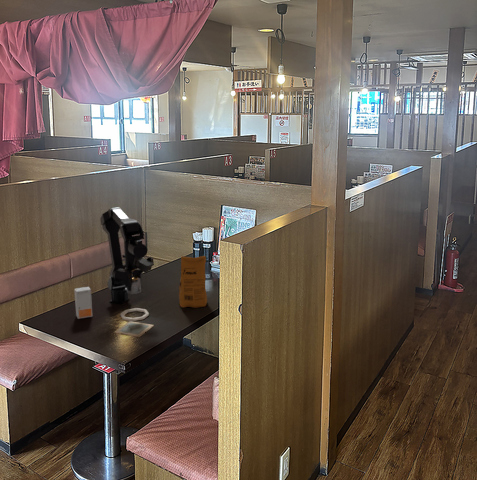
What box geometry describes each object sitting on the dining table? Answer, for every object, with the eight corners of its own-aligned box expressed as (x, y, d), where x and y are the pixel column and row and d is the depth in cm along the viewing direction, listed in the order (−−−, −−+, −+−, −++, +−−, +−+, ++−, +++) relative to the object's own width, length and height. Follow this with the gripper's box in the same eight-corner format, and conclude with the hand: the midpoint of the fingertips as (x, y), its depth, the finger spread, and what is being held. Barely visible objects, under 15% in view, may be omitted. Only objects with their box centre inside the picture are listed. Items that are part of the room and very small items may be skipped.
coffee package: (180, 299, 231) (178, 253, 225) (207, 299, 231) (207, 253, 225) (177, 308, 221) (176, 259, 215) (206, 308, 221) (206, 259, 216)
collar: (116, 318, 210) (116, 316, 210) (130, 308, 220) (130, 307, 220) (139, 322, 206) (139, 320, 206) (152, 312, 216) (152, 310, 216)
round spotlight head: (137, 295, 206) (137, 281, 205) (122, 292, 209) (121, 278, 207) (145, 290, 211) (144, 276, 210) (129, 288, 214) (128, 274, 212)
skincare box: (78, 319, 209) (75, 291, 206) (76, 315, 213) (73, 288, 209) (93, 316, 212) (91, 289, 209) (90, 313, 215) (88, 286, 212)
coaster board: (114, 332, 197) (114, 331, 197) (129, 321, 207) (129, 320, 207) (139, 337, 193) (139, 336, 193) (153, 325, 203) (153, 324, 203)
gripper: (137, 260, 195) (138, 298, 199) (160, 248, 212) (161, 283, 216) (112, 257, 198) (114, 295, 202) (137, 245, 215) (138, 280, 219)
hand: (133, 288), depth 210 cm, fingers closed on round spotlight head, 6 cm apart
